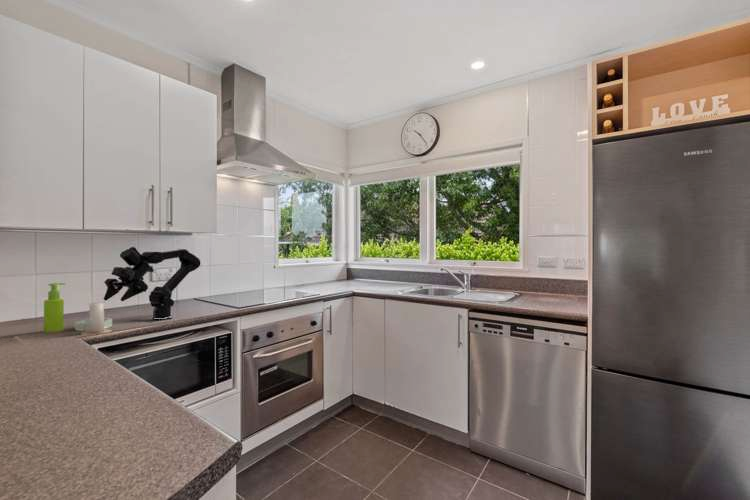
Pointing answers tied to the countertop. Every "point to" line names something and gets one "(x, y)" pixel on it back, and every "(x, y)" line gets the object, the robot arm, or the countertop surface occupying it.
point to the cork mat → (96, 333)
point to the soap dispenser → (53, 310)
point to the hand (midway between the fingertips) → (112, 300)
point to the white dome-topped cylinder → (96, 317)
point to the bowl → (85, 324)
